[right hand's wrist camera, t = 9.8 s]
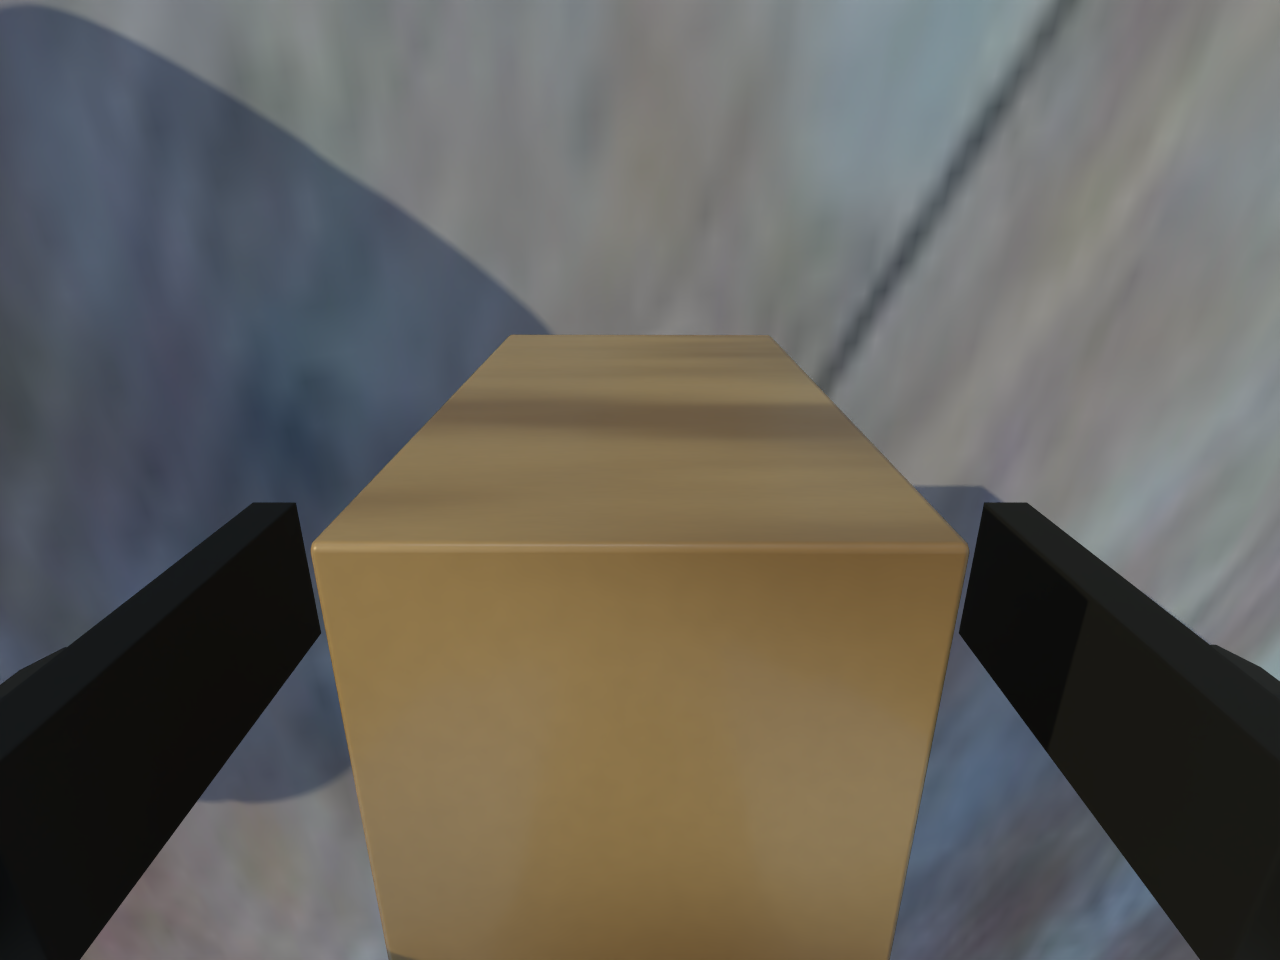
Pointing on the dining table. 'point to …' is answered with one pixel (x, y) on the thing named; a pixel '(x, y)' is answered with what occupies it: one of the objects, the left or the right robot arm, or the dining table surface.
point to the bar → (639, 660)
